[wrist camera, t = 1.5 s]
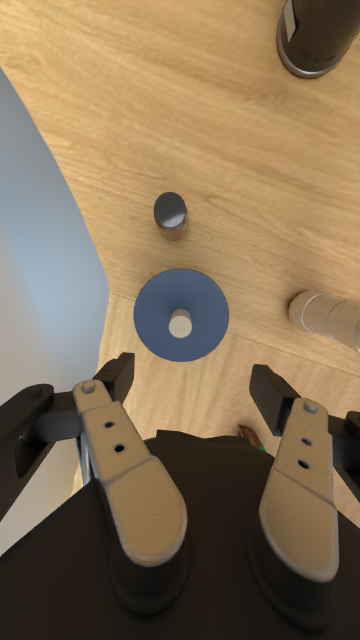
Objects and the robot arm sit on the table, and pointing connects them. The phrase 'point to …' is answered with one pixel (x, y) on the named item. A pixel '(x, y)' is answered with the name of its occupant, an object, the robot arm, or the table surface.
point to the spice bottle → (171, 215)
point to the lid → (181, 315)
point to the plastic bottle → (328, 316)
